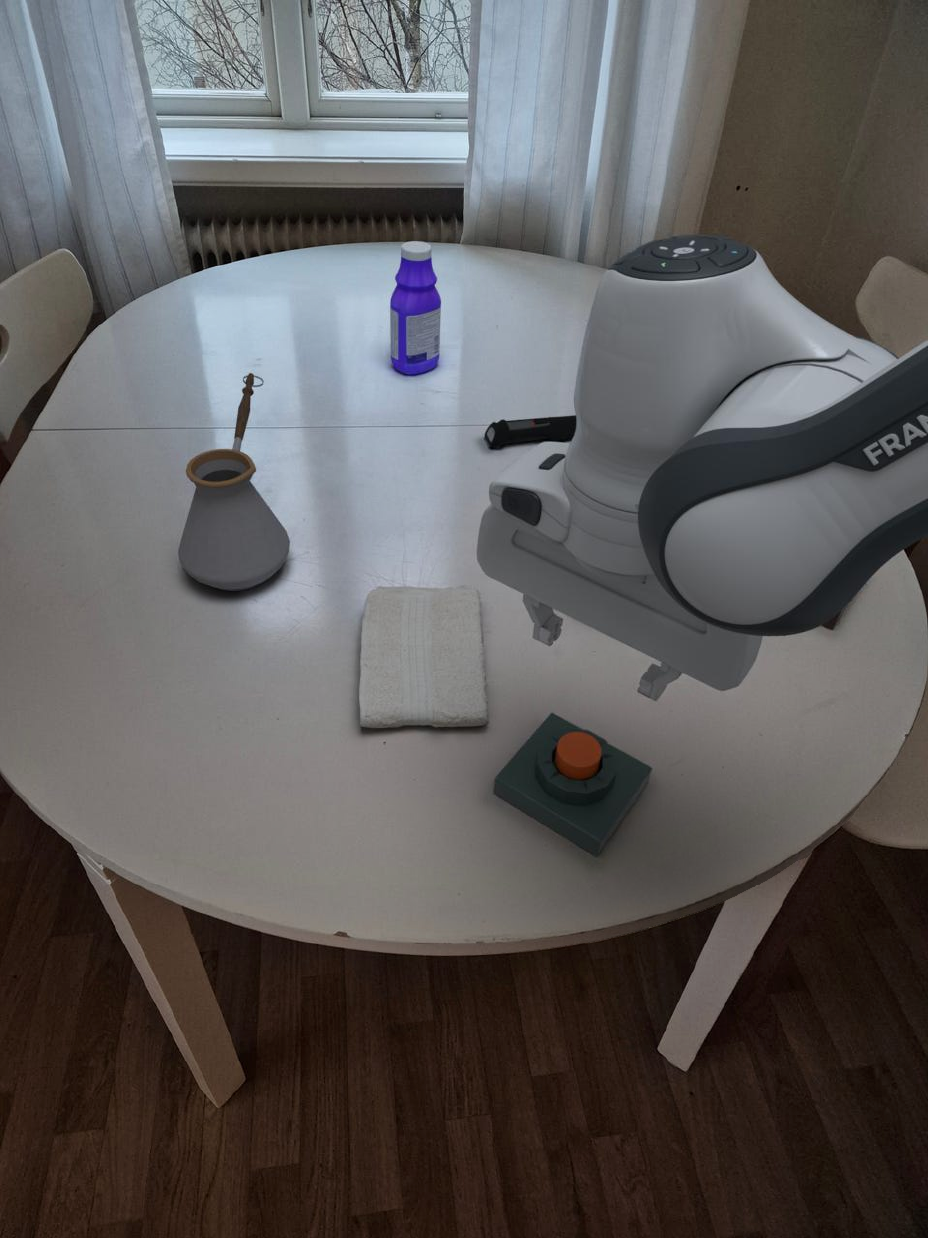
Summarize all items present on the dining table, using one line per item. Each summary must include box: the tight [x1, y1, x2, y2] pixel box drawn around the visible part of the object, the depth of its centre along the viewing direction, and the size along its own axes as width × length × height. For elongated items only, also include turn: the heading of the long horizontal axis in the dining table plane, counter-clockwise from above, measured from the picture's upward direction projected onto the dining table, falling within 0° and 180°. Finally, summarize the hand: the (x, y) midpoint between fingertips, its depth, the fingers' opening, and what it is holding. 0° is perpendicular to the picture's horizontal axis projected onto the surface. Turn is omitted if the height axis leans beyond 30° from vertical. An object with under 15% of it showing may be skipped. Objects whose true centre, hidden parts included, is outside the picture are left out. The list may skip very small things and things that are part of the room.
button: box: [555, 732, 602, 780], centre depth 70 cm, size 4×4×2 cm
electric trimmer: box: [484, 414, 577, 450], centre depth 113 cm, size 4×16×3 cm, turn 103°
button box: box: [493, 712, 653, 857], centre depth 72 cm, size 10×9×4 cm
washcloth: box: [358, 584, 490, 729], centre depth 82 cm, size 12×18×3 cm, turn 3°
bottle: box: [389, 240, 442, 375], centre depth 121 cm, size 7×6×17 cm
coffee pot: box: [177, 372, 291, 592], centre depth 91 cm, size 21×12×15 cm, turn 177°
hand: (597, 664), depth 63 cm, fingers open, 7 cm apart
